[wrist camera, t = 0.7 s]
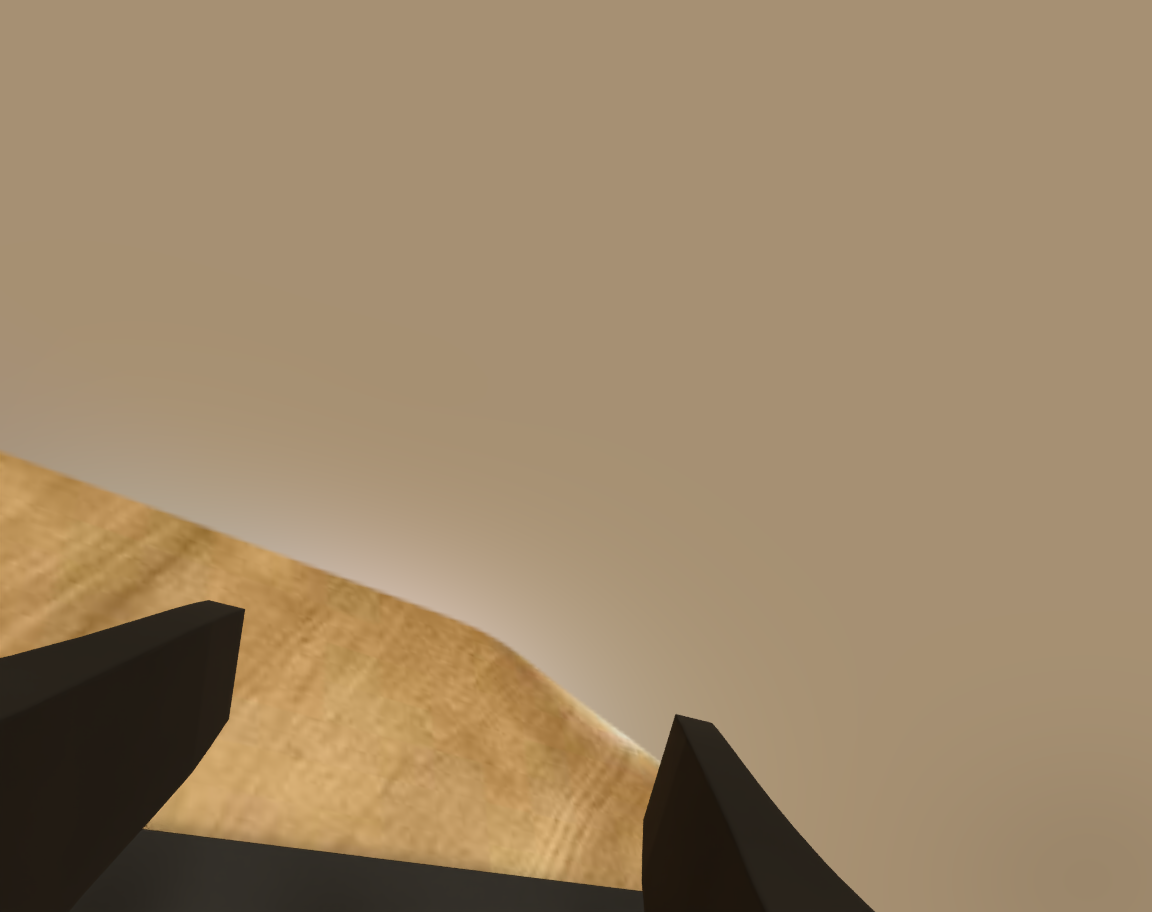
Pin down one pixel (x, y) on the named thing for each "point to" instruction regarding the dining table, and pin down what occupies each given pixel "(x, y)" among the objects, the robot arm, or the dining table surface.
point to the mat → (318, 883)
